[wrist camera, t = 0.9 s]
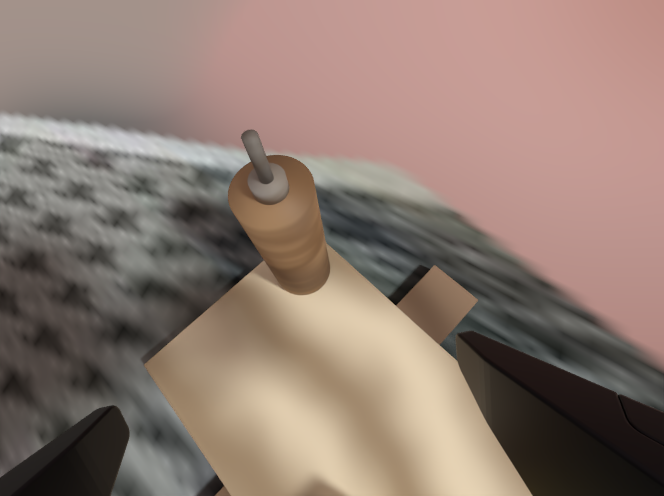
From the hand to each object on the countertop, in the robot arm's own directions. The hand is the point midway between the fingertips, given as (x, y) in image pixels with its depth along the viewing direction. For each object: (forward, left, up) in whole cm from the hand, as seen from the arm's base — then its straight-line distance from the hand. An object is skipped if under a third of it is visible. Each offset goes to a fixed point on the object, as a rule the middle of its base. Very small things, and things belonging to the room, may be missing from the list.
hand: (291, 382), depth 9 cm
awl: (+4, +7, -12) cm, 15 cm away
